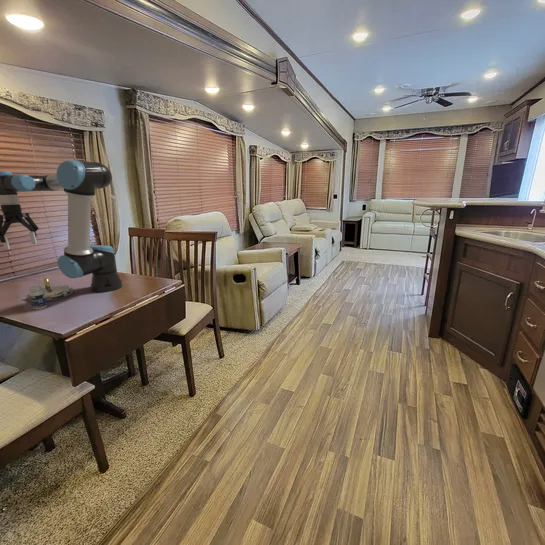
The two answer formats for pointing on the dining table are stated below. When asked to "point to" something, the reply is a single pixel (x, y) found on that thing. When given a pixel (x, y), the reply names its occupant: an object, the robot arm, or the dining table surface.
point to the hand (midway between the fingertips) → (21, 246)
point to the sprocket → (54, 290)
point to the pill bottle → (37, 297)
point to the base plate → (57, 298)
